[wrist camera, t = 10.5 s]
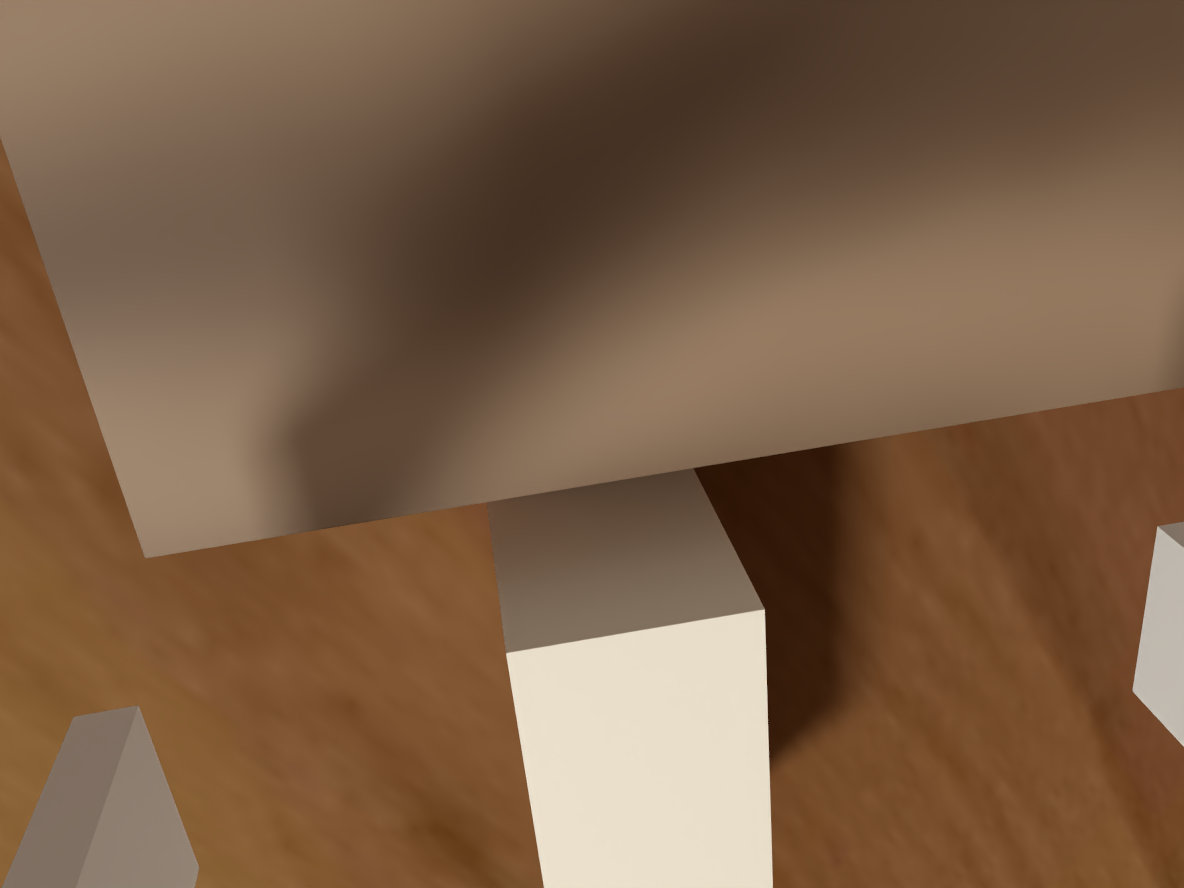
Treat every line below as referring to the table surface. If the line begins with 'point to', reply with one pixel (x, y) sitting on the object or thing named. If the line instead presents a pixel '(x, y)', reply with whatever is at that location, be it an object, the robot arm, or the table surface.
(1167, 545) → the robot arm
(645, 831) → the block
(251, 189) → the wooden plank
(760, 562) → the table surface
